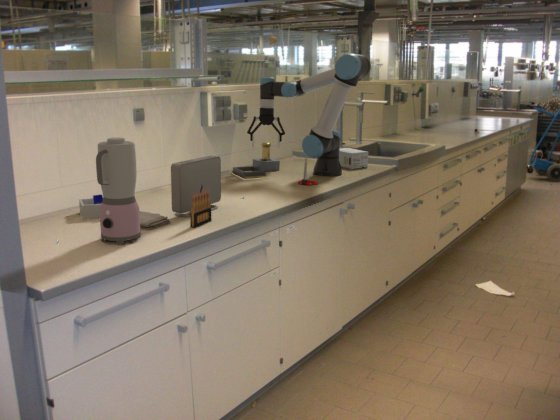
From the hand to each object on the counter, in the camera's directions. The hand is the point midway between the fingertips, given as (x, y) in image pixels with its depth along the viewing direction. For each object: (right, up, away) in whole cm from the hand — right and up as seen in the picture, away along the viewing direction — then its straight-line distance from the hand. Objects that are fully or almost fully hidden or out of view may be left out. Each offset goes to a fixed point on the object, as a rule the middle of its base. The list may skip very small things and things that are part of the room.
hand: (265, 147), depth 297 cm
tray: (-8, -15, -9) cm, 20 cm away
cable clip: (-57, -35, -90) cm, 112 cm away
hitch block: (0, -12, +3) cm, 13 cm away
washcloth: (-41, -39, -102) cm, 116 cm away
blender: (-43, -43, -122) cm, 136 cm away
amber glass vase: (0, -11, +3) cm, 12 cm away
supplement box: (+48, -8, +25) cm, 55 cm away
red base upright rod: (+22, -21, -28) cm, 41 cm away
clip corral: (-57, -35, -90) cm, 112 cm away
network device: (-24, -34, -84) cm, 94 cm away
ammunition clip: (-20, -39, -102) cm, 111 cm away
